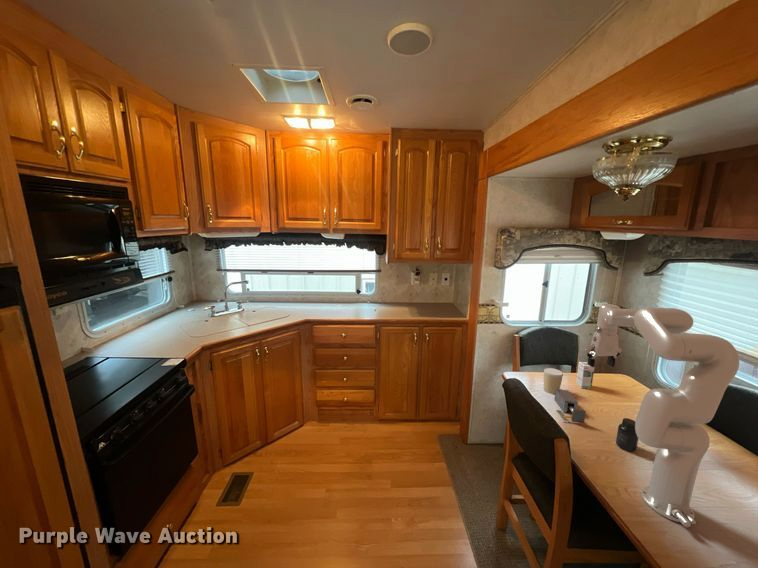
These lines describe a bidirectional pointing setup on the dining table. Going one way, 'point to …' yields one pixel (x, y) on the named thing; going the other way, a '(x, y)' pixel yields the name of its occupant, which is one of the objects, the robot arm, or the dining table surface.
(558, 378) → the coffee cup
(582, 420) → the plunger
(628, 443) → the supplement bottle
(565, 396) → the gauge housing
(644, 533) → the dining table surface
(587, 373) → the syrup box
